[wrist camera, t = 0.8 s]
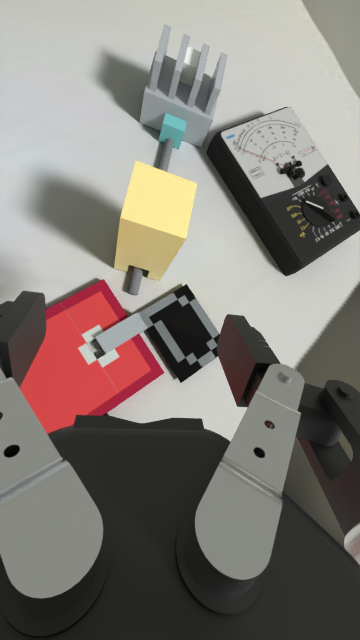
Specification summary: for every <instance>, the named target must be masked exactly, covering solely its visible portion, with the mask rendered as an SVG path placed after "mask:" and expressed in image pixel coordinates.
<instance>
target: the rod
mask: <svg viewBox="0 0 360 640" xmlns="http://www.w3.org/2000/svg"><path fill="white" fill-rule="evenodd" d="M186 124H187V122H186V121H184V120H182V119H179V118H177V117H175V116H172V115H170V114H167V113H165V117H164V121H163V125H162V129H161V133H160V137H159V142H162V143H164V144H165V145H164V149H163V153H162V157H161V161H160V165H159V169H160V170H163V171H165V172H167V169H168V164H169V160H170V156H171V152H172V148H173V147H174V148H177V149H179V147H180V144H181V141H182V138H183V135H184V132H185V128H186ZM142 273H143V269H142V268H138V267H135V266H134V270H133V274H132V278H131V282H130V286H129V290H128V293H129V294H132V295H137V294H138V290H139V286H140V282H141V278H142Z"/></svg>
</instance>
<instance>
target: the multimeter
mask: <svg viewBox="0 0 360 640" xmlns="http://www.w3.org/2000/svg"><path fill="white" fill-rule="evenodd" d="M207 154H208V156H209V158H210V160H211V161H212V163H213V164H214V166H215V167H216V169H217V171H218V172H219V174H220V175H221V177H222V178H223V180H224V181H225V183H226V185H227V186H228V188H229V189H230V191H231V192H232V194H233V196H234V197H235V199H236V200H237V202H238V203H239V205H240V207H241V208H242V210H243V211H244V213H245V214H246V216H247V217H248V219H249V221H250V222H251V224H252V225H253V227H254V228H255V230H256V232H257V233H258V235H259V236H260V238H261V239H262V241H263V243H264V244H265V246H266V247H267V249H268V250H269V252H270V254H271V255H272V257H273V258H274V260H275V261H276V263H277V264H278V266H279V268H280V269H281V271H282V272H283V274H284V275H285V276H289V275H291V274H294V273H296V272H298V271H299V270H301V269H302V268H304V267H305V266H307V265H308V264H310V263H311V262H313V261H314V260H316V259H317V258H319V257H320V256H322V255H323V254H325V253H326V252H328V251H329V250H331V249H332V248H334V247H335V246H337V245H338V244H340V243H341V242H343V241H344V240H346V239H347V238H349V237H350V236H352V235H353V234H355V233H356V232H358V231H359V230H360V213H359V212H358V210H357V209H356V207H355V205H354V204H353V202H352V201H351V199H350V198H349V196H348V195H347V193H346V192H345V190H344V188H343V187H342V185H341V184H340V182H339V181H338V179H337V178H336V176H335V174H334V173H333V171H332V170H331V168H330V167H329V165H328V164H327V162H326V160H325V159H324V157H323V156H322V154H321V153H320V151H319V150H318V148H317V147H316V145H315V143H314V142H313V140H312V139H311V137H310V136H309V134H308V133H307V131H306V129H305V128H304V126H303V125H302V123H301V122H300V120H299V119H298V117H297V115H296V114H295V112H294V111H293V109H292V108H291V107H284V108H282V109H279V110H276V111H274V112H271V113H268V114H266V115H263V116H260V117H258V118H255V119H252V120H249V121H247V122H244V123H241V124H239V125H236V126H233V127H231V128H228V129H225V130H222V131H220V132H217V133H216V134H215V136H214V138H213V139H212V141H211V143H210V145H209V148H208V150H207Z"/></svg>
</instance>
